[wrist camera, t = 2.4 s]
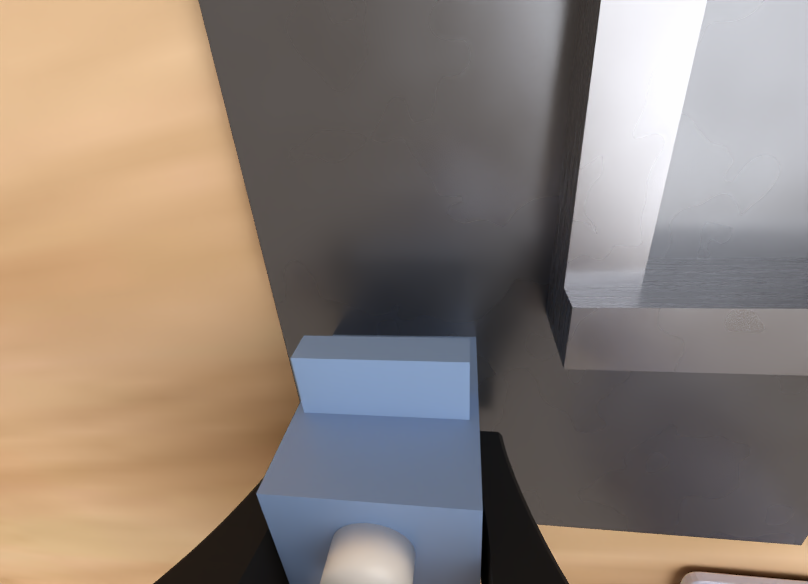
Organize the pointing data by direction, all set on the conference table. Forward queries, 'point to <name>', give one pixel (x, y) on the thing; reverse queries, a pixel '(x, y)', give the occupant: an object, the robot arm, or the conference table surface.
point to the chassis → (555, 229)
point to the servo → (380, 463)
